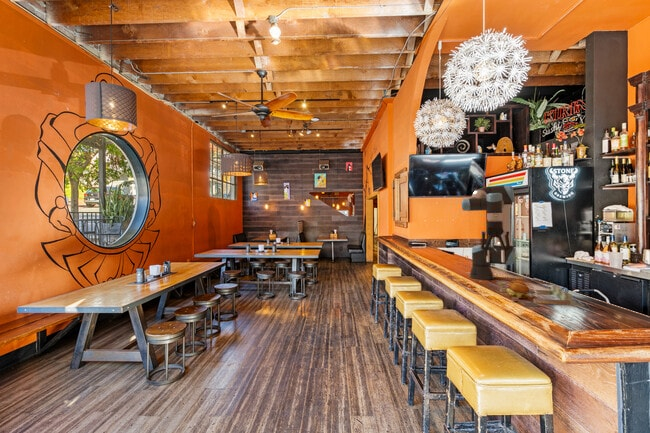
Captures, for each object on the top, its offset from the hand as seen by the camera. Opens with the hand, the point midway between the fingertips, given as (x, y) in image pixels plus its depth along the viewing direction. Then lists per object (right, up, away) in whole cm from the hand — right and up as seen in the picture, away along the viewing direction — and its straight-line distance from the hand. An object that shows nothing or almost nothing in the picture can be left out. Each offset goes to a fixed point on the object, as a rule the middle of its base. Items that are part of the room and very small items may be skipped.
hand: (495, 261), depth 169 cm
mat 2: (+8, -19, -16) cm, 26 cm away
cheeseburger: (+11, -19, -3) cm, 22 cm away
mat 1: (+23, -18, +8) cm, 31 cm away
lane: (+18, -19, -5) cm, 26 cm away
